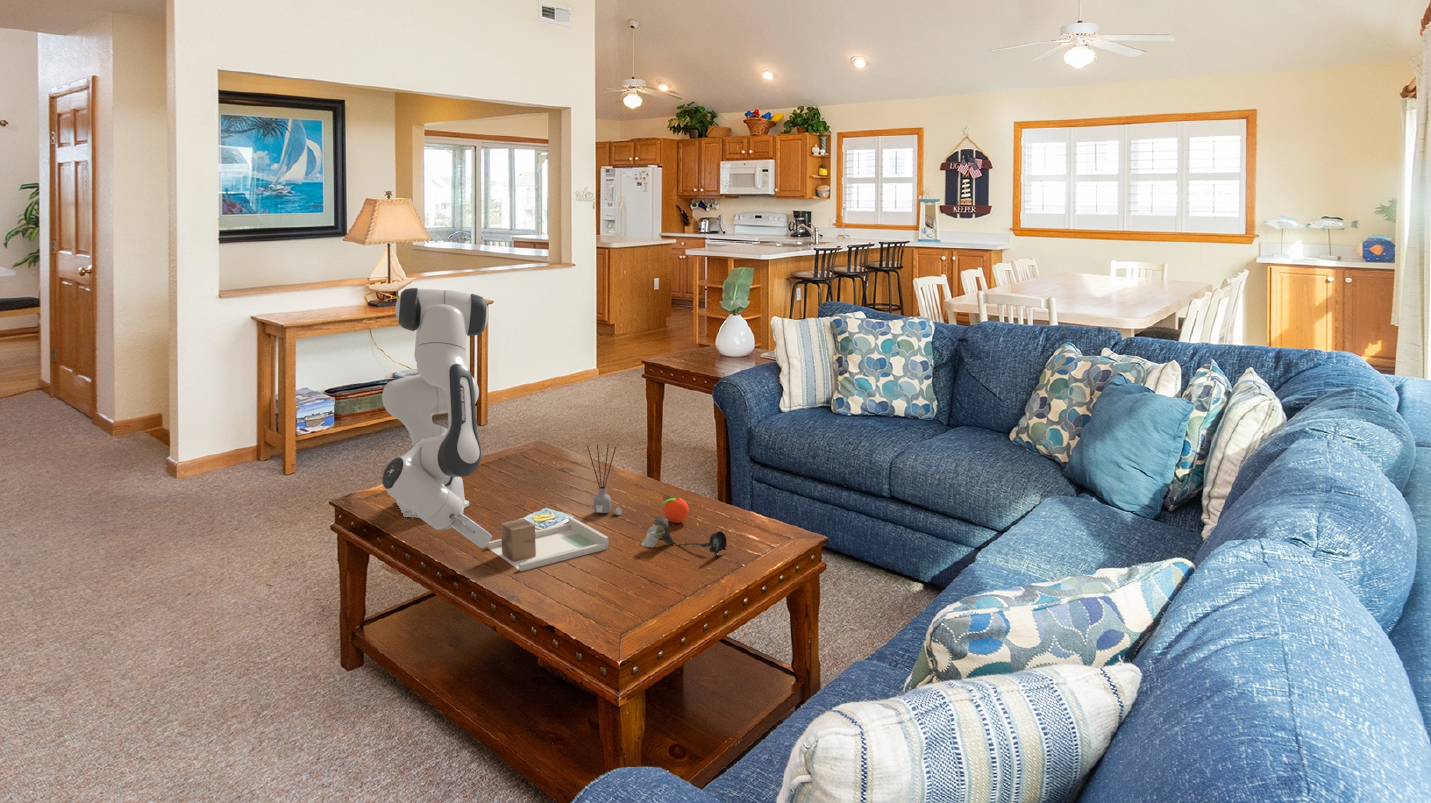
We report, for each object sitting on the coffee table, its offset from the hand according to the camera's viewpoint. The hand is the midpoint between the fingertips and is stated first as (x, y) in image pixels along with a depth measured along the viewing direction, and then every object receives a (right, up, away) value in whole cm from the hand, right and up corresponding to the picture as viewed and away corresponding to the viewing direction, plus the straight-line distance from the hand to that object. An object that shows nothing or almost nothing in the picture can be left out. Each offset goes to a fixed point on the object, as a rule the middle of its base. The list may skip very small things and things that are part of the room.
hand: (484, 541), depth 217 cm
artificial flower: (+46, -5, +17) cm, 49 cm away
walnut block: (+7, -4, +7) cm, 10 cm away
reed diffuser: (+24, +2, +43) cm, 49 cm away
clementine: (+43, 0, +36) cm, 56 cm away
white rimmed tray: (+13, -5, +12) cm, 18 cm away
